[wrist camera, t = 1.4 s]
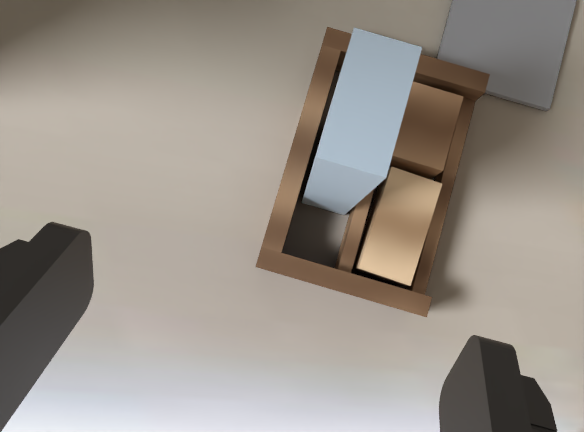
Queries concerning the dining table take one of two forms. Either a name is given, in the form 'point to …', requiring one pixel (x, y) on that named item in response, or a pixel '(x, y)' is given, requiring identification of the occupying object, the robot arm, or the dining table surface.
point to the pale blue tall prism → (362, 121)
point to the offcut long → (397, 227)
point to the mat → (510, 45)
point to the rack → (340, 277)
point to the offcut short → (426, 131)
